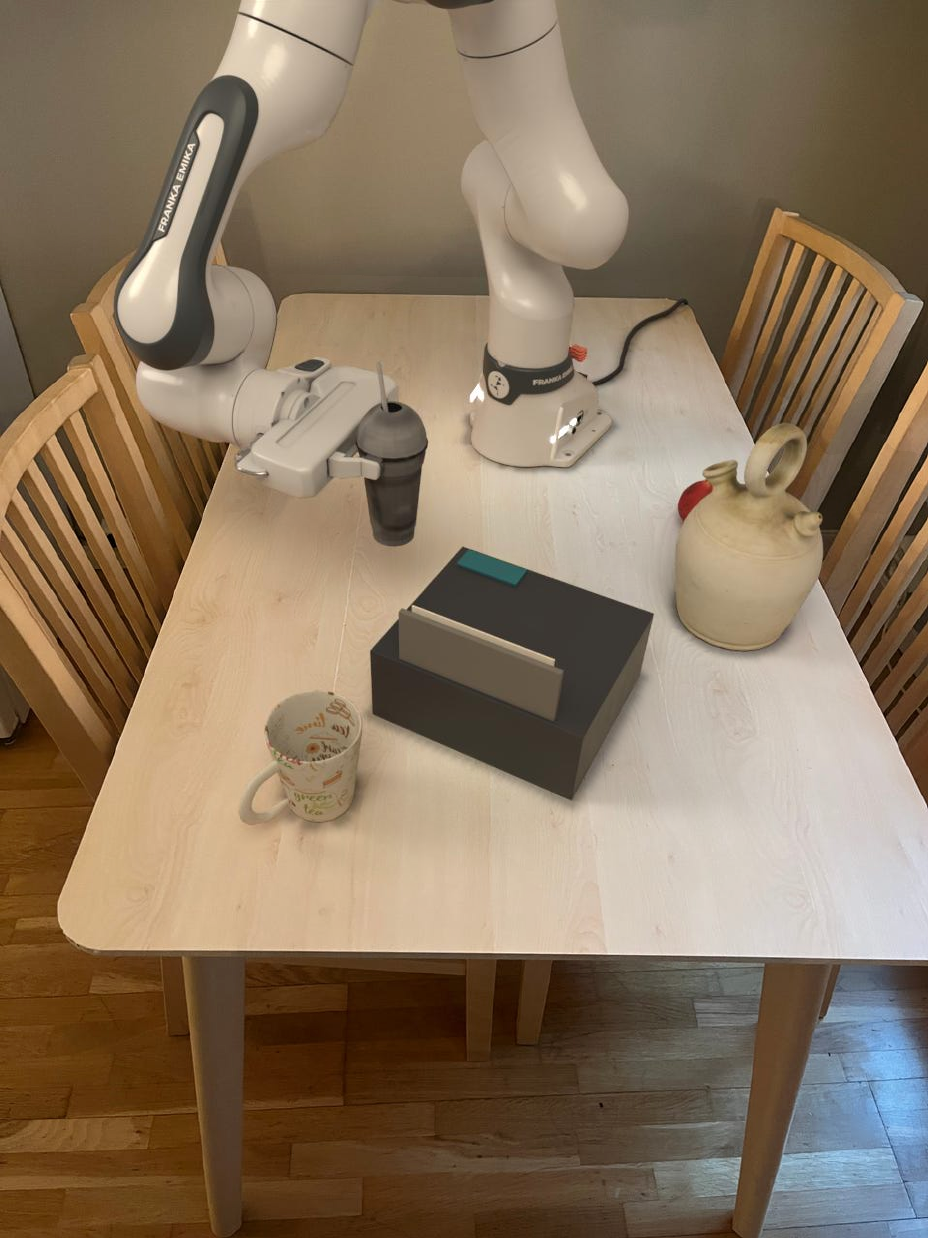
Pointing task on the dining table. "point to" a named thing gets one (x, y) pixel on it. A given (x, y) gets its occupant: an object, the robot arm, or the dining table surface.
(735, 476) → the jug
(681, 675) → the dining table surface
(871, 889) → the dining table surface
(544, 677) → the printer
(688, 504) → the red pomegranate
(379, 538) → the beverage cup
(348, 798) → the mug
